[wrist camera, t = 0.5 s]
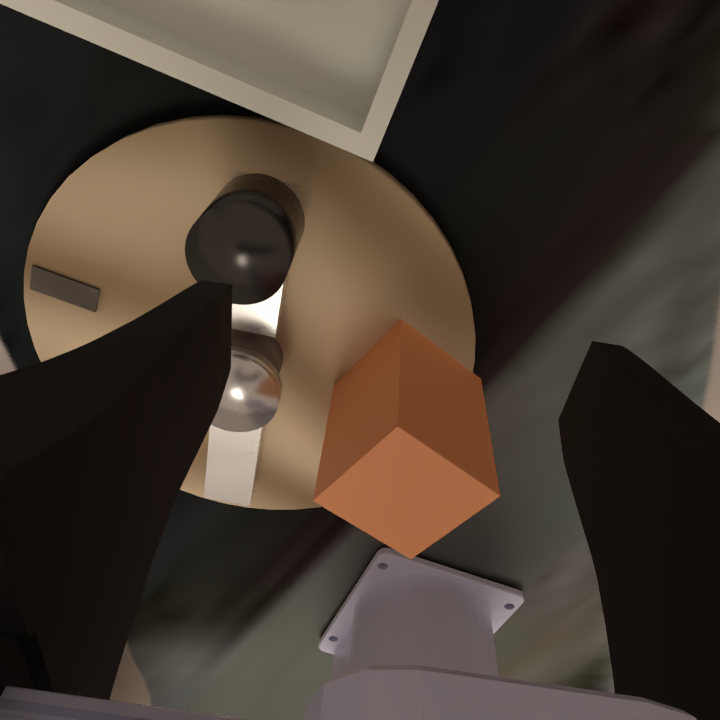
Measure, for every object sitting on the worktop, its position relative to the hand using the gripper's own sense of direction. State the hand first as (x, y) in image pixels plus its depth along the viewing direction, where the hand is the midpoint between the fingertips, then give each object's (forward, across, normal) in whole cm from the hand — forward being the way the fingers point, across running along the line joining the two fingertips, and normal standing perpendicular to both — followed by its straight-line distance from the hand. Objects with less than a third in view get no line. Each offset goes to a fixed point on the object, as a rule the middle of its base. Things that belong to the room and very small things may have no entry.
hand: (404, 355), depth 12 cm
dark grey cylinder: (+8, +5, +7) cm, 12 cm away
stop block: (+9, -1, +7) cm, 11 cm away
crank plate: (+9, +5, +7) cm, 13 cm away
